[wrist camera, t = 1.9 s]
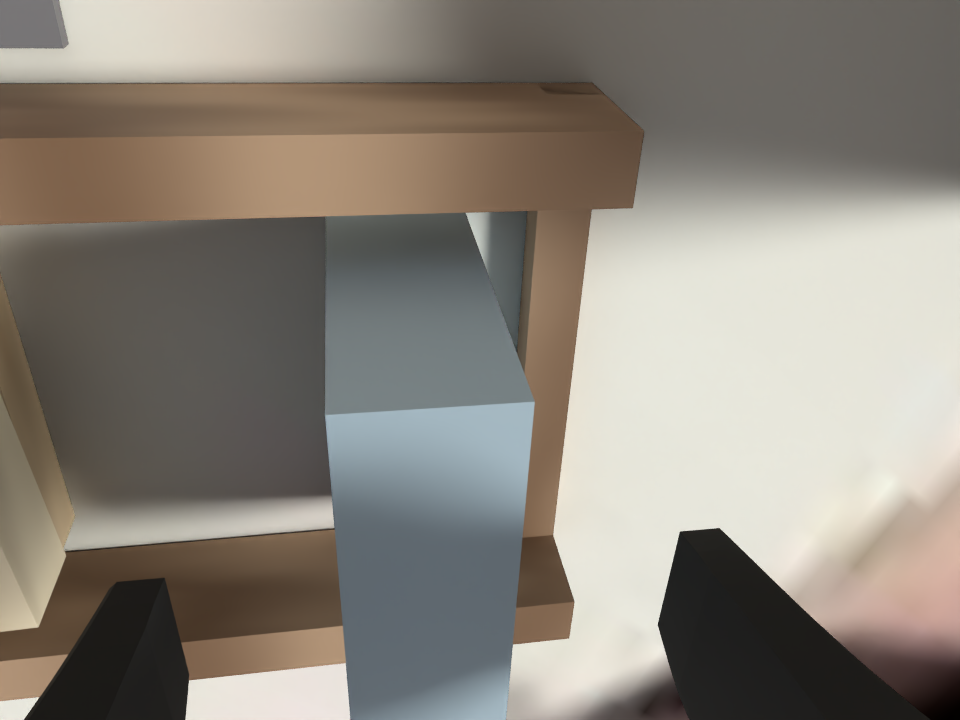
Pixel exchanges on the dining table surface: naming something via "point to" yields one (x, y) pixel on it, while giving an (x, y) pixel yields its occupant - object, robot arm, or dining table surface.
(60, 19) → the dark grey panel
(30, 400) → the offcut lower
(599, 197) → the rack
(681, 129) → the dining table surface
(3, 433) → the offcut upper
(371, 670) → the pale blue tall box
